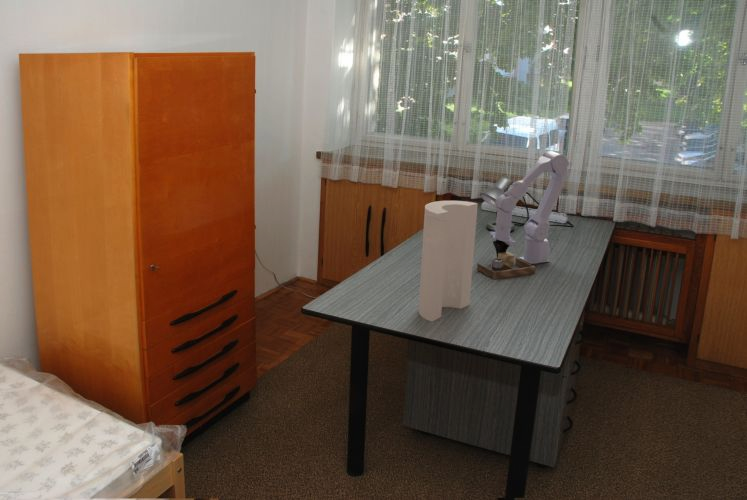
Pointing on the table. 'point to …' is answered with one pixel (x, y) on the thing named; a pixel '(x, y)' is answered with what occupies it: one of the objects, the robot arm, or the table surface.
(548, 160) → the robot arm
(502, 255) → the maple block
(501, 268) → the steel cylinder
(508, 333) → the table surface
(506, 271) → the rack
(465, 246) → the white curved column
